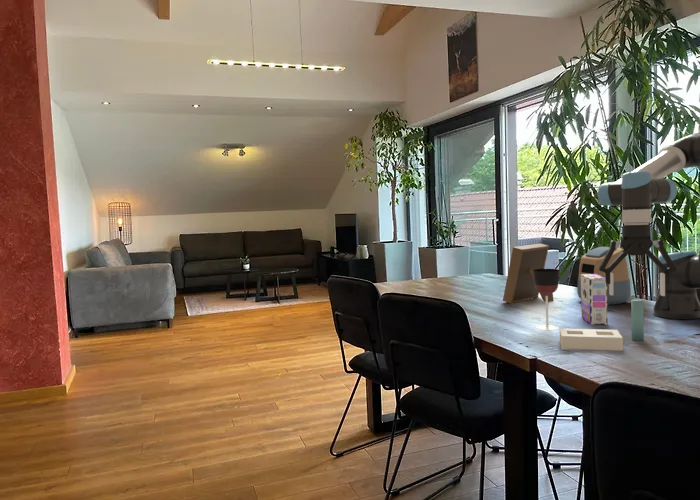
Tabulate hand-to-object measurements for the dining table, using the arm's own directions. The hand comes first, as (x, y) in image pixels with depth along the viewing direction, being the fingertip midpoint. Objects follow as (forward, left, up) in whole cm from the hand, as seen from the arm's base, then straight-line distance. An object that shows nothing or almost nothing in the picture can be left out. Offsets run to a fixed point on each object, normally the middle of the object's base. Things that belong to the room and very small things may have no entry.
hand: (636, 295), depth 156 cm
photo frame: (+30, -69, -14) cm, 77 cm away
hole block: (+14, +8, -14) cm, 21 cm away
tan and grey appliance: (+1, -68, -14) cm, 70 cm away
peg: (0, 0, -14) cm, 14 cm away
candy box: (+9, -28, -14) cm, 33 cm away
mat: (0, 0, -14) cm, 14 cm away
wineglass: (+25, -16, -14) cm, 33 cm away
